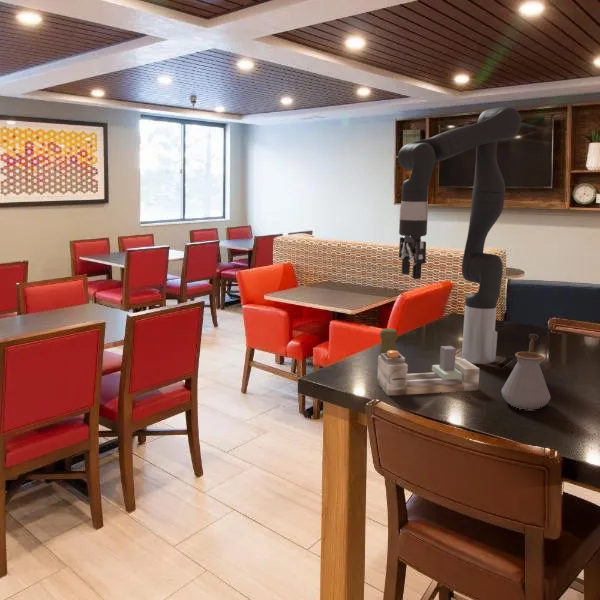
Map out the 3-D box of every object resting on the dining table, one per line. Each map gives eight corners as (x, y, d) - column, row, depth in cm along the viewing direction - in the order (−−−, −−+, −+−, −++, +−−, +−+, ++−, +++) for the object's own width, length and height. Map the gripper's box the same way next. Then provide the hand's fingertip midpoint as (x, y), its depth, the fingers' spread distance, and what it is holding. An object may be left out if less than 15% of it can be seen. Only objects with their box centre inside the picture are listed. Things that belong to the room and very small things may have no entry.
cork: (397, 368, 177) (398, 332, 174) (376, 366, 178) (378, 330, 176) (398, 362, 182) (399, 327, 180) (378, 360, 184) (379, 326, 181)
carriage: (448, 369, 165) (450, 343, 164) (461, 378, 158) (463, 351, 156) (431, 370, 164) (433, 343, 163) (443, 379, 157) (445, 352, 155)
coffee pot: (548, 416, 141) (554, 355, 138) (497, 408, 146) (502, 349, 143) (551, 389, 160) (557, 334, 157) (507, 382, 165) (511, 330, 162)
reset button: (396, 357, 159) (396, 350, 158) (400, 360, 156) (400, 353, 156) (385, 357, 158) (385, 350, 158) (389, 361, 155) (389, 353, 155)
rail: (462, 379, 167) (465, 347, 165) (478, 391, 158) (481, 357, 156) (377, 384, 163) (378, 351, 161) (388, 396, 153) (390, 361, 152)
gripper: (436, 219, 158) (433, 280, 161) (416, 216, 172) (414, 272, 175) (409, 219, 157) (407, 280, 160) (391, 216, 170) (389, 272, 174)
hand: (410, 276), depth 167 cm, fingers open, 8 cm apart
